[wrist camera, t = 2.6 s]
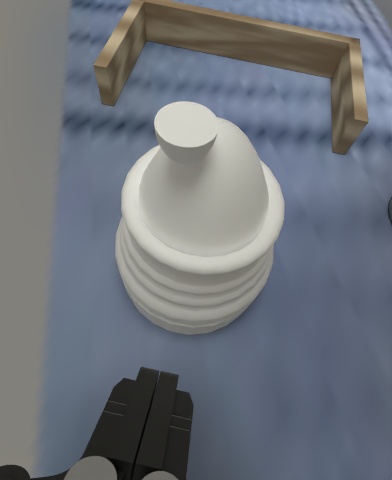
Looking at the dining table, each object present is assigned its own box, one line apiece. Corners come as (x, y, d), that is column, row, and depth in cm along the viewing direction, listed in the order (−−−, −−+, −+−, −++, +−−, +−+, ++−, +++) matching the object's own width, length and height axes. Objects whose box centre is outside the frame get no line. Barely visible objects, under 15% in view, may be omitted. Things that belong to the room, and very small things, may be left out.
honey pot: (187, 368, 24) (224, 320, 8) (95, 260, 28) (-3, 83, 12) (284, 270, 29) (424, 121, 13) (194, 189, 33) (218, -6, 17)
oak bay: (344, 154, 37) (368, 122, 33) (102, 103, 38) (93, 64, 33) (340, 74, 45) (359, 39, 40) (139, 33, 45) (136, -7, 41)
